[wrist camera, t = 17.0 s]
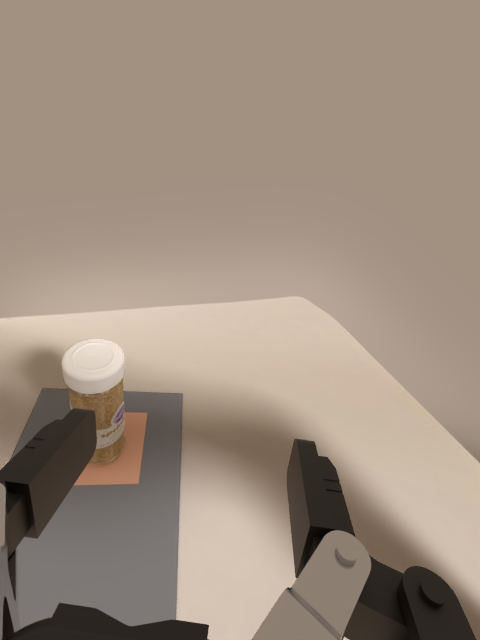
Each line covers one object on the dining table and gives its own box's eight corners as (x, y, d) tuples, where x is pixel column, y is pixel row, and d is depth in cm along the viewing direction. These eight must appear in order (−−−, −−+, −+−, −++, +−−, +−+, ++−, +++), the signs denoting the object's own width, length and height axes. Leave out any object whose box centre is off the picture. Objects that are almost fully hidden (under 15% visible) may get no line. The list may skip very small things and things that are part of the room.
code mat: (182, 394, 40) (182, 393, 40) (169, 844, 17) (169, 845, 17) (43, 388, 36) (42, 387, 36) (-212, 951, 13) (-215, 953, 13)
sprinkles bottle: (119, 469, 31) (116, 381, 23) (70, 466, 30) (49, 375, 22) (130, 427, 35) (130, 339, 27) (86, 424, 34) (73, 332, 26)
